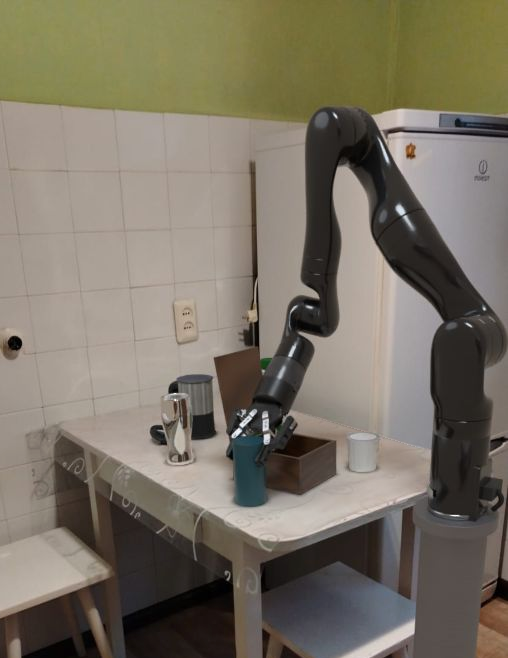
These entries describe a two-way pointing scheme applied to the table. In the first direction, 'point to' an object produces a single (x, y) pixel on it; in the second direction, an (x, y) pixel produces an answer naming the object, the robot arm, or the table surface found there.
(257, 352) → the bin lid
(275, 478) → the bin
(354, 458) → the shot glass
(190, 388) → the milk frother
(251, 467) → the can
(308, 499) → the table surface
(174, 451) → the beer glass
